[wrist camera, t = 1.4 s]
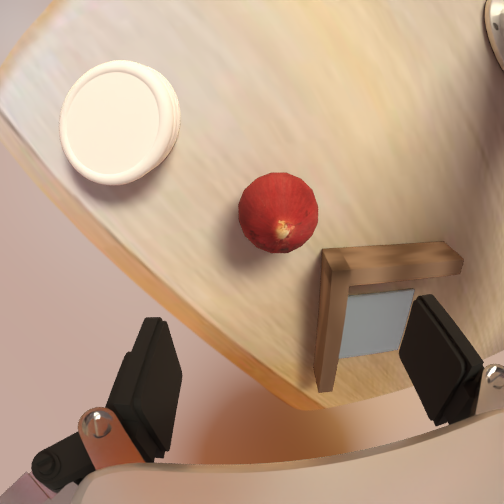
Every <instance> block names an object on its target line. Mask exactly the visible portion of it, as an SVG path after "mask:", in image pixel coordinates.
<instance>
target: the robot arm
mask: <svg viewBox="0 0 504 504" xmlns="http://www.w3.org/2000/svg"><path fill="white" fill-rule="evenodd" d="M485 23H486V29H487V33H488V38H489V41H490V43H491V46H492V49H493V51H494V54H495V56H496V58H497V60H498V62H499V64H500V66H501V68H502V69H503V71H504V0H487V2H486V6H485ZM399 356H400V359H401V361H402V363H403V365H404V367H405V369H406V371H407V373H408V375H409V377H410V379H411V381H412V383H413V385H414V387H415V389H416V391H417V393H418V395H419V397H420V400H421V402H422V404H423V406H424V409H425V411H426V413H427V415H428V417H429V419H430V420H433V421H434V424H435V426H439V425H441V424H444V423H447V421H448V423H449V425H448V426H446V427H442V428H439V429H436V430H433V431H430V432H427V433H424V434H421V435H418V436H415V437H411V438H408V439H405V440H401V441H398V442H394V443H390V444H386V445H382V446H378V447H374V448H369V449H365V450H360V451H355V452H351V453H345V454H340V455H334V456H328V457H321V458H314V459H307V460H299V461H289V462H278V463H264V464H242V465H196V464H172V463H168V464H167V463H154V458H164V454H165V451H169V449H170V445H171V438H172V433H173V427H174V421H175V415H176V409H177V404H178V398H179V393H180V387H181V382H182V371H181V367H180V364H179V361H178V358H177V354H176V351H175V348H174V345H173V341H172V338H171V334H170V331H169V328H168V324H167V322H166V321H162V319H161V318H160V317H150V318H149V317H148V318H145V319H144V322H143V324H142V327H141V329H140V331H139V334H138V336H137V339H136V341H135V344H134V346H133V349H132V351H131V352H127V353H126V355H125V356H124V360H123V362H122V364H121V367H120V369H119V372H118V374H117V377H116V380H115V382H114V385H113V388H112V390H111V393H110V396H109V398H108V401H107V404H106V407H105V408H104V407H95V408H92V409H90V410H88V411H86V412H85V413H84V414H83V415H82V416H81V418H80V420H79V422H78V432H76V433H74V434H73V435H71V436H69V437H67V438H65V439H63V440H61V441H59V442H58V443H56V444H54V445H52V446H50V447H48V448H46V449H44V450H42V451H41V452H39V453H38V454H37V455H36V456H35V457H34V459H33V462H32V467H31V469H32V471H31V472H30V473H27V472H25V473H24V474H23V475H22V476H21V477H20V478H19V479H18V480H17V481H16V482H15V483H14V484H13V485H12V486H11V487H10V488H8V489H7V490H6V491H5V492H4V493H3V494H2V495H1V496H0V504H504V366H502V365H499V364H490V365H488V366H486V368H484V367H483V363H484V362H483V360H482V359H481V357H480V356H479V354H478V353H477V352H476V350H475V349H474V348H473V346H472V345H471V343H470V342H469V341H468V339H467V338H466V337H465V335H464V334H463V333H462V331H461V330H460V329H459V327H458V326H457V325H456V323H455V322H454V321H453V320H452V318H451V317H450V316H449V314H448V313H447V312H446V311H445V309H444V308H443V307H442V306H441V304H440V303H439V302H438V301H437V300H436V298H435V297H434V296H433V295H432V294H429V295H422V296H418V297H417V299H416V300H415V301H414V302H413V305H412V309H411V312H410V316H409V320H408V323H407V327H406V330H405V334H404V337H403V340H402V344H401V347H400V350H399Z"/></svg>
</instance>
